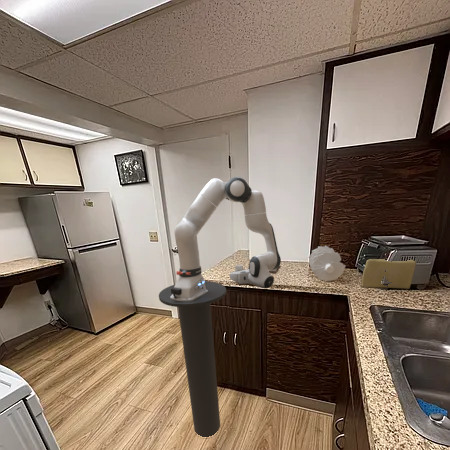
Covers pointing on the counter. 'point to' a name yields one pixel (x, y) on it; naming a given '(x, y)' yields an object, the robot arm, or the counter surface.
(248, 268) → the board
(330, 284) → the counter surface
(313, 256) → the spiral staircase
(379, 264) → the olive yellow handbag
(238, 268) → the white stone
